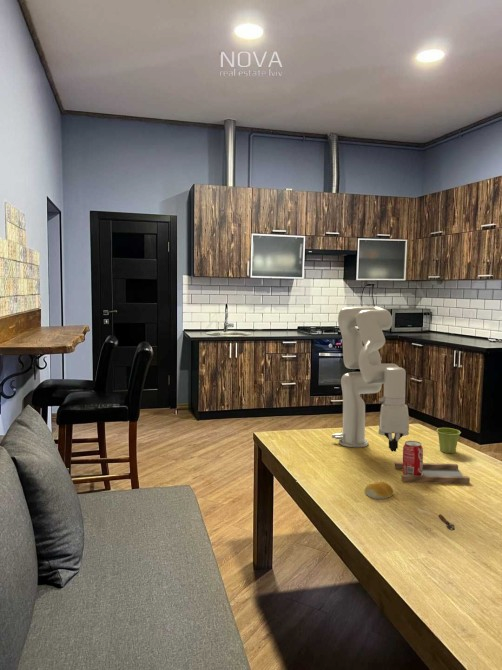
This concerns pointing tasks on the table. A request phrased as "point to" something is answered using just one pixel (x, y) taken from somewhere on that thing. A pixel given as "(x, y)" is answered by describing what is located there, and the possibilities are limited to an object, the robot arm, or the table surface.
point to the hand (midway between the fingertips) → (393, 450)
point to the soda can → (412, 458)
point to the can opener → (446, 522)
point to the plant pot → (448, 439)
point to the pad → (441, 472)
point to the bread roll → (379, 490)
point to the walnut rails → (434, 478)
